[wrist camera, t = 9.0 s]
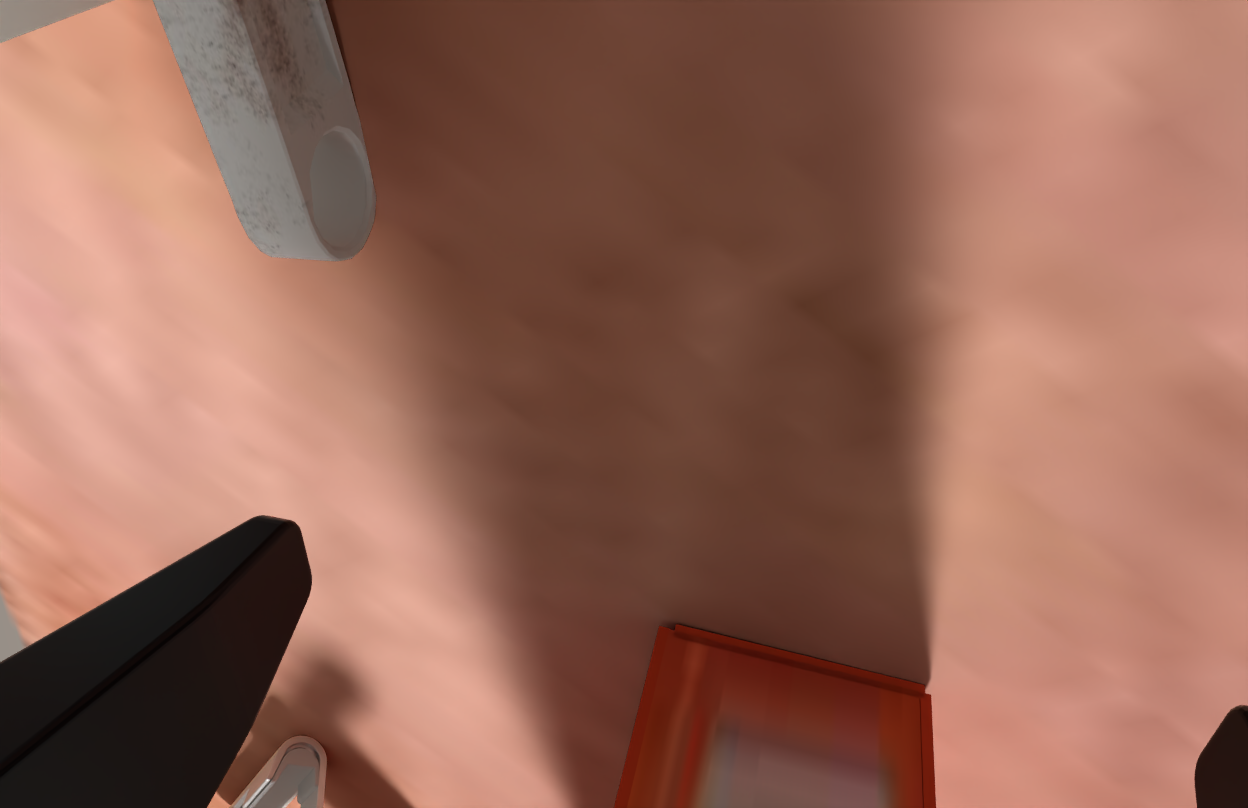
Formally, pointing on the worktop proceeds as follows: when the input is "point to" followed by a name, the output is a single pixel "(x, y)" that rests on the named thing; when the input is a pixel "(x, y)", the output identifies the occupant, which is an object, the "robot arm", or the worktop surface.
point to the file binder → (773, 731)
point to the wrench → (278, 121)
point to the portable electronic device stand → (289, 777)
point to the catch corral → (38, 14)
